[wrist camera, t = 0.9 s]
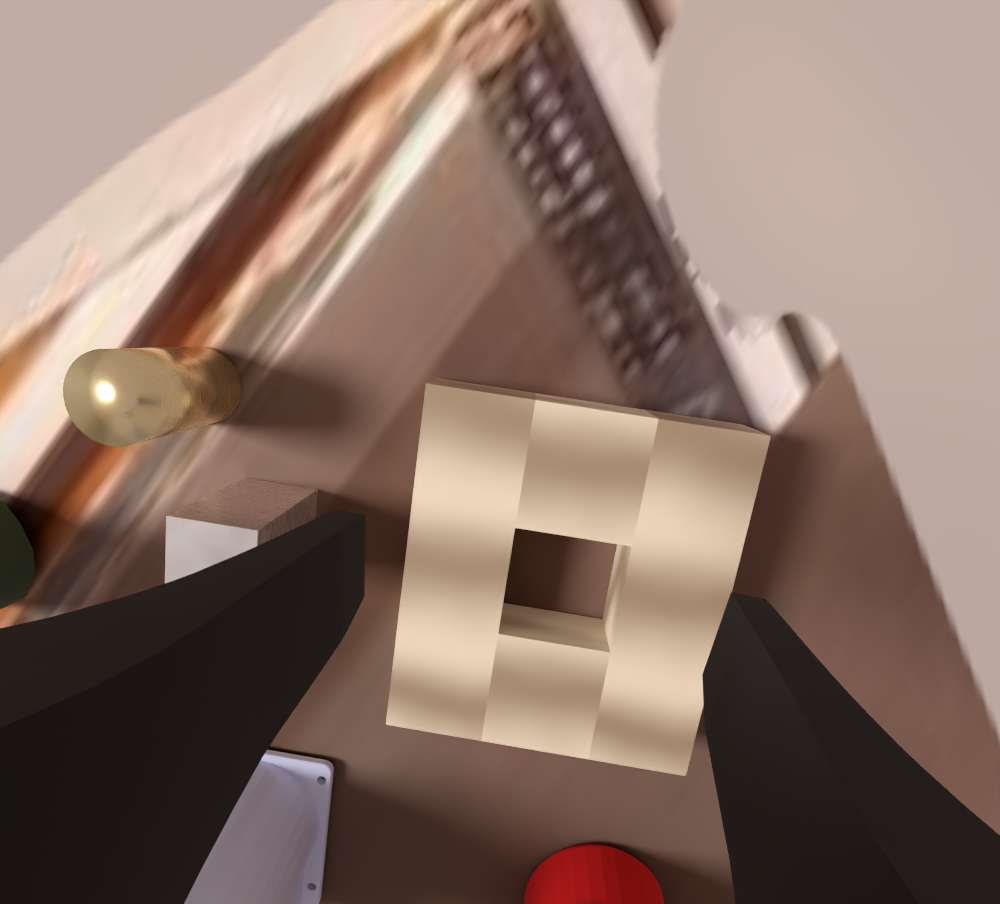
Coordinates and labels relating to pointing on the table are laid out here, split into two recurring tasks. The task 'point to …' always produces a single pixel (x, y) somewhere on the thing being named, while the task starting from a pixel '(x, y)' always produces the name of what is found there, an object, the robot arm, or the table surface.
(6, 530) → the character mug
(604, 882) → the soda can
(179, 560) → the square bit
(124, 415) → the round bit
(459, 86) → the table surface
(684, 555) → the socket plate
